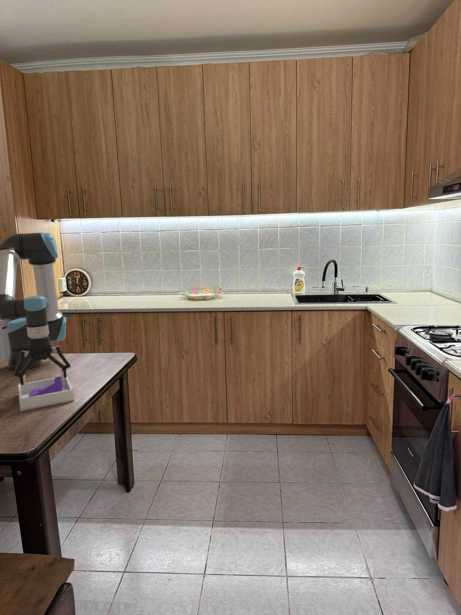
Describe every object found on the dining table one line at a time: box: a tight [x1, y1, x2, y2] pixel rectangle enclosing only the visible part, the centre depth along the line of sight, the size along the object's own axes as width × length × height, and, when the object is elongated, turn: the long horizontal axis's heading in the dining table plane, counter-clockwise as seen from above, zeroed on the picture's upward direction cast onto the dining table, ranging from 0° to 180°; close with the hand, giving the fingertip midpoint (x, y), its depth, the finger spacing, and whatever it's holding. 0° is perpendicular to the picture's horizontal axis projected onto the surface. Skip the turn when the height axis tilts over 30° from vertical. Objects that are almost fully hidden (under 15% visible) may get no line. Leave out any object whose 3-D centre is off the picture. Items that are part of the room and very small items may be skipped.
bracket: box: [29, 375, 62, 397], centre depth 173 cm, size 12×7×7 cm, turn 110°
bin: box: [17, 375, 75, 412], centre depth 174 cm, size 19×19×5 cm
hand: (45, 389), depth 173 cm, fingers open, 13 cm apart
